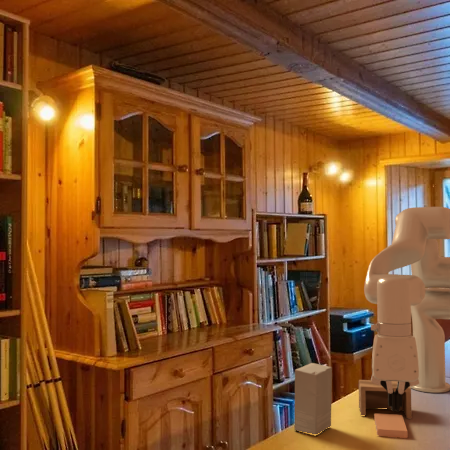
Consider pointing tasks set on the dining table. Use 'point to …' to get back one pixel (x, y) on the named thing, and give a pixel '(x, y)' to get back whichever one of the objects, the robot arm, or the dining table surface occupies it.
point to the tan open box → (381, 397)
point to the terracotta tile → (390, 425)
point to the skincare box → (313, 398)
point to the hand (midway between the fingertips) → (395, 409)
